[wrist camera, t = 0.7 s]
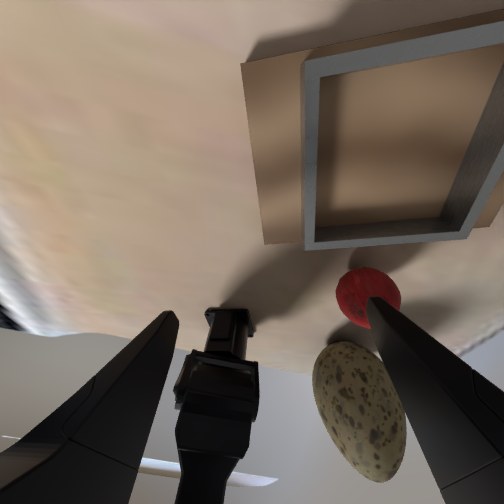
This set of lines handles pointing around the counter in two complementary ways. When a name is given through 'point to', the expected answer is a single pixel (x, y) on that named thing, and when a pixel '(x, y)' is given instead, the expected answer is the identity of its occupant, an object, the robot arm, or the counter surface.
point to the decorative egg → (360, 409)
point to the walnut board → (370, 132)
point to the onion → (364, 293)
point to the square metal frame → (470, 171)
